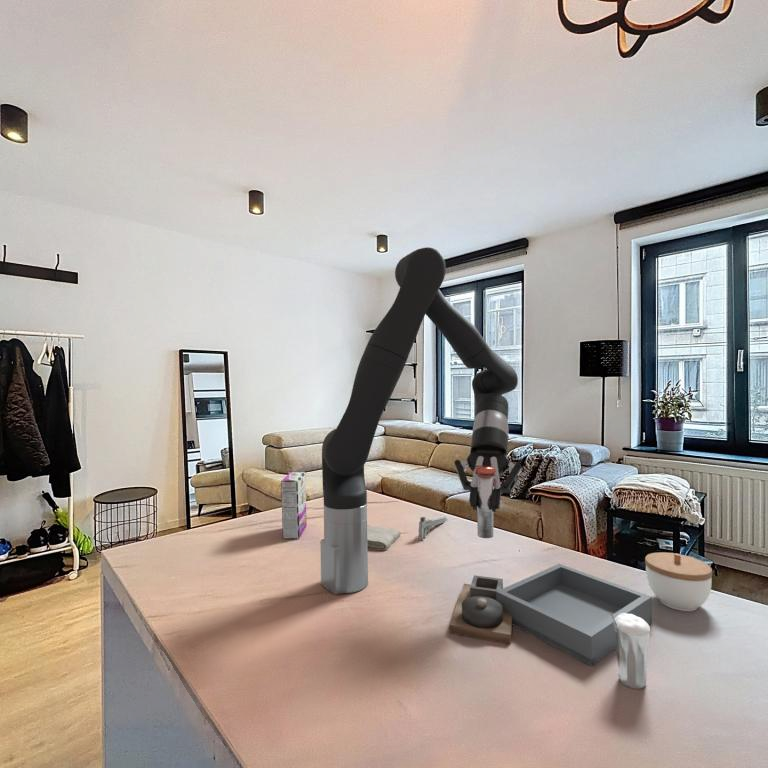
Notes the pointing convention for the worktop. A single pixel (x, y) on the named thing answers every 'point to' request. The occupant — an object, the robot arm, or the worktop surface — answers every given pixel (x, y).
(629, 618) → the milkshake
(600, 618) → the tray
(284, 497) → the candy bar box
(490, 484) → the pin
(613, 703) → the worktop surface
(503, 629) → the wooden stand
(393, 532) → the washcloth
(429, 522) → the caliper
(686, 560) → the lidded jar
